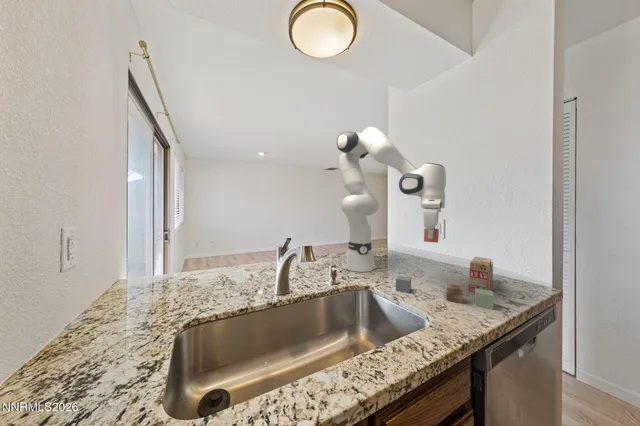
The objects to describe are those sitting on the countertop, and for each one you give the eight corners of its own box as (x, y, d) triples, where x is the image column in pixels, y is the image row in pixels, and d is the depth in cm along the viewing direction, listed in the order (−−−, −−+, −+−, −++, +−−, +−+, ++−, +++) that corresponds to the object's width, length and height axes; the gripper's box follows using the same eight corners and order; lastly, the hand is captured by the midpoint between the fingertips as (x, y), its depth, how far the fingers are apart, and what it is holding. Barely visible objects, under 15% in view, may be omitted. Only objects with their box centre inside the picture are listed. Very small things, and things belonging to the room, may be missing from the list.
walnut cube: (446, 300, 87) (446, 287, 87) (446, 296, 91) (447, 283, 91) (462, 304, 85) (462, 290, 84) (461, 299, 89) (462, 285, 89)
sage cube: (475, 306, 83) (476, 292, 82) (474, 301, 87) (475, 288, 87) (493, 310, 80) (493, 295, 80) (491, 304, 84) (491, 290, 84)
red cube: (423, 241, 96) (424, 229, 96) (425, 239, 101) (425, 228, 100) (437, 242, 94) (438, 230, 94) (438, 241, 98) (438, 228, 98)
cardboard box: (476, 278, 113) (477, 253, 113) (492, 281, 109) (494, 255, 109) (468, 291, 97) (470, 261, 96) (487, 295, 93) (488, 264, 92)
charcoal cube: (395, 291, 96) (396, 278, 96) (398, 287, 100) (398, 275, 100) (408, 293, 93) (409, 281, 93) (410, 289, 98) (411, 277, 97)
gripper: (426, 203, 107) (425, 233, 108) (421, 203, 89) (419, 239, 90) (442, 203, 104) (441, 234, 105) (439, 203, 86) (438, 241, 87)
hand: (431, 237), depth 97 cm, fingers closed on red cube, 5 cm apart
